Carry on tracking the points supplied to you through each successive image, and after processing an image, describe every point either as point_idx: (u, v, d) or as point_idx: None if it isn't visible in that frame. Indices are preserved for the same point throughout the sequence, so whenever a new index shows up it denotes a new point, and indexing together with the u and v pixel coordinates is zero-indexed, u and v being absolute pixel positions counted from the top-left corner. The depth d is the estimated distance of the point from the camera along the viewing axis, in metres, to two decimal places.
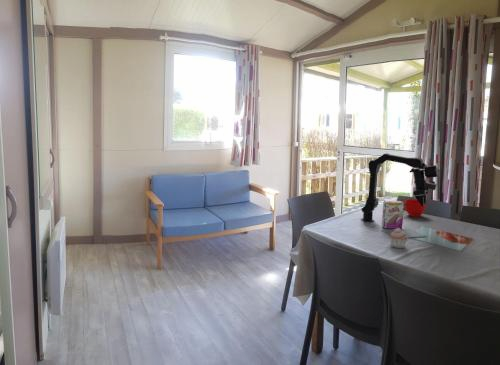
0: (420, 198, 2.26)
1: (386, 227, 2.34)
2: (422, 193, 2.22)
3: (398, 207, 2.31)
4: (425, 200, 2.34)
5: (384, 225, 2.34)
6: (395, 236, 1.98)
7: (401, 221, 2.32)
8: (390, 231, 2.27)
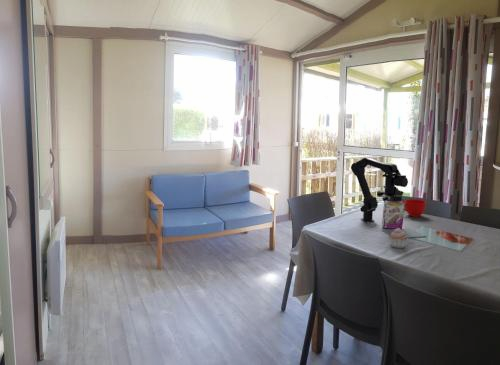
0: None
1: (386, 227, 2.34)
2: (400, 199, 2.29)
3: (399, 208, 2.30)
4: None
5: (384, 225, 2.33)
6: (395, 236, 1.98)
7: (401, 221, 2.32)
8: (390, 231, 2.27)
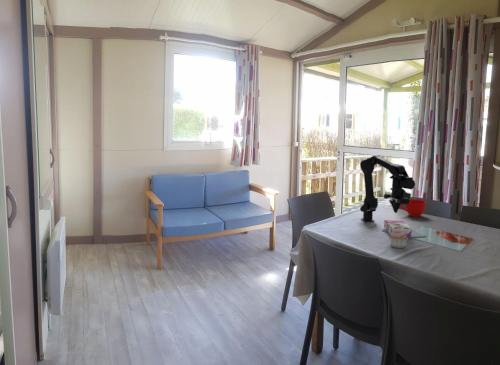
0: (397, 205, 2.29)
1: None
2: (408, 202, 2.21)
3: None
4: None
5: (385, 228, 2.32)
6: (395, 236, 1.98)
7: None
8: None
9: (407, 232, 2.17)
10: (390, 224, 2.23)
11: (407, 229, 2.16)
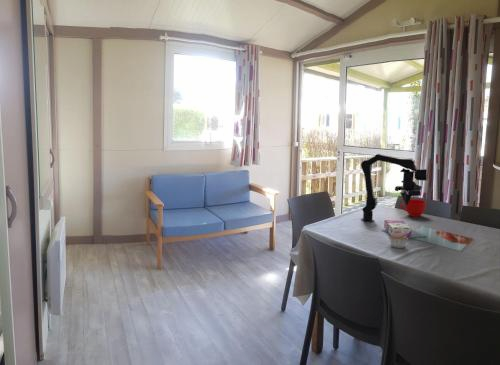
0: (408, 197, 2.38)
1: None
2: (419, 194, 2.31)
3: None
4: None
5: (385, 228, 2.32)
6: (395, 236, 1.98)
7: None
8: None
9: (407, 232, 2.17)
10: (390, 224, 2.23)
11: (407, 229, 2.16)
